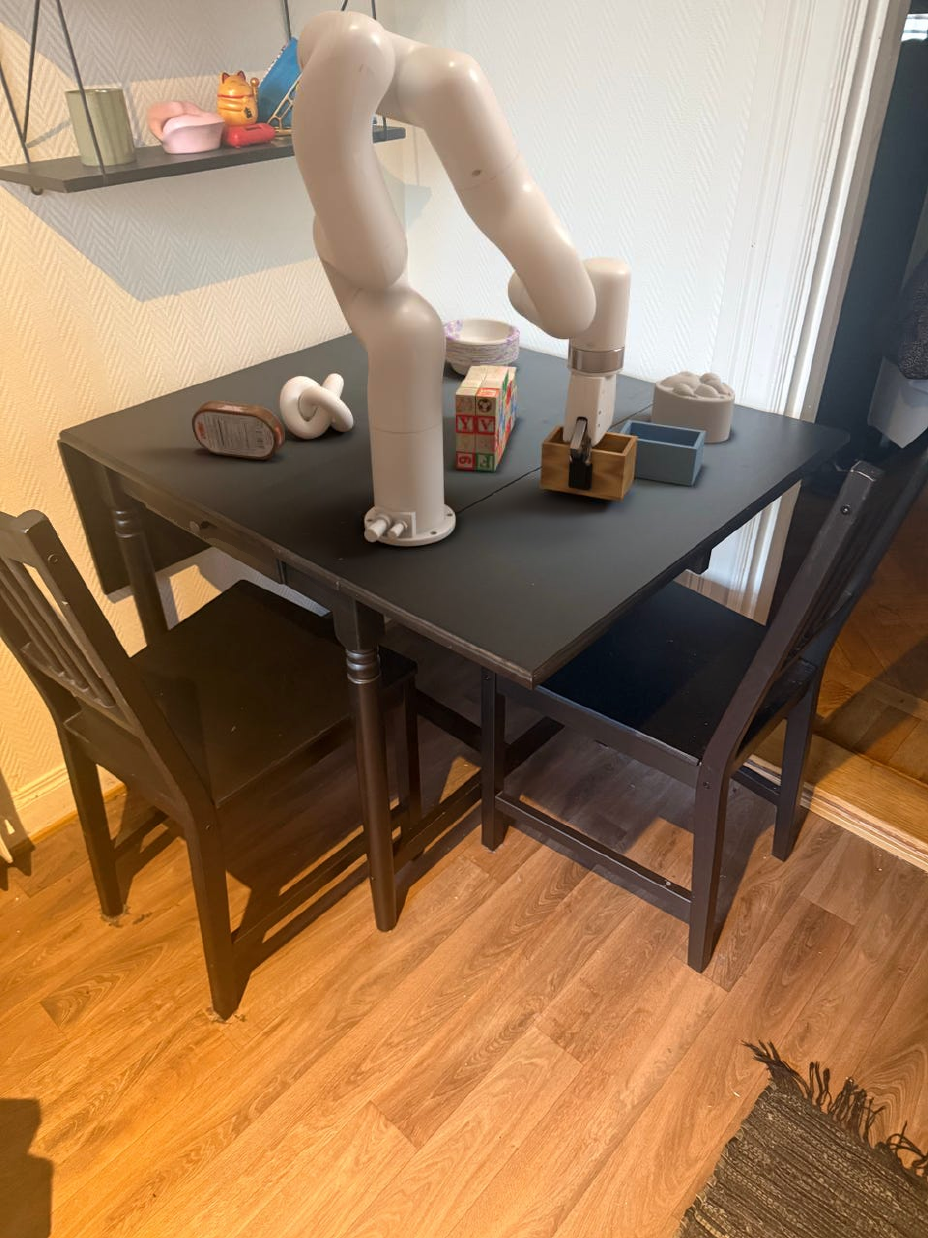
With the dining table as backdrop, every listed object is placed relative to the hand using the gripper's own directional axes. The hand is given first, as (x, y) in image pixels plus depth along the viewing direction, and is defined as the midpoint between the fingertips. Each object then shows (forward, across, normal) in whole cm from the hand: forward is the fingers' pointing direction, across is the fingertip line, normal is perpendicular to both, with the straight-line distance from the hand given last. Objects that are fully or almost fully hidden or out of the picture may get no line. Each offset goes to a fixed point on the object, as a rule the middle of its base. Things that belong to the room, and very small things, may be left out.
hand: (587, 475), depth 134 cm
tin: (+3, +7, -55) cm, 56 cm away
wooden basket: (+1, 0, 0) cm, 1 cm away
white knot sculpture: (+3, -7, -48) cm, 49 cm away
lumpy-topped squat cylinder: (+3, -30, +10) cm, 32 cm away
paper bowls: (+3, -44, -34) cm, 56 cm away
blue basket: (+3, -12, +8) cm, 15 cm away
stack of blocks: (+3, -12, -20) cm, 24 cm away
